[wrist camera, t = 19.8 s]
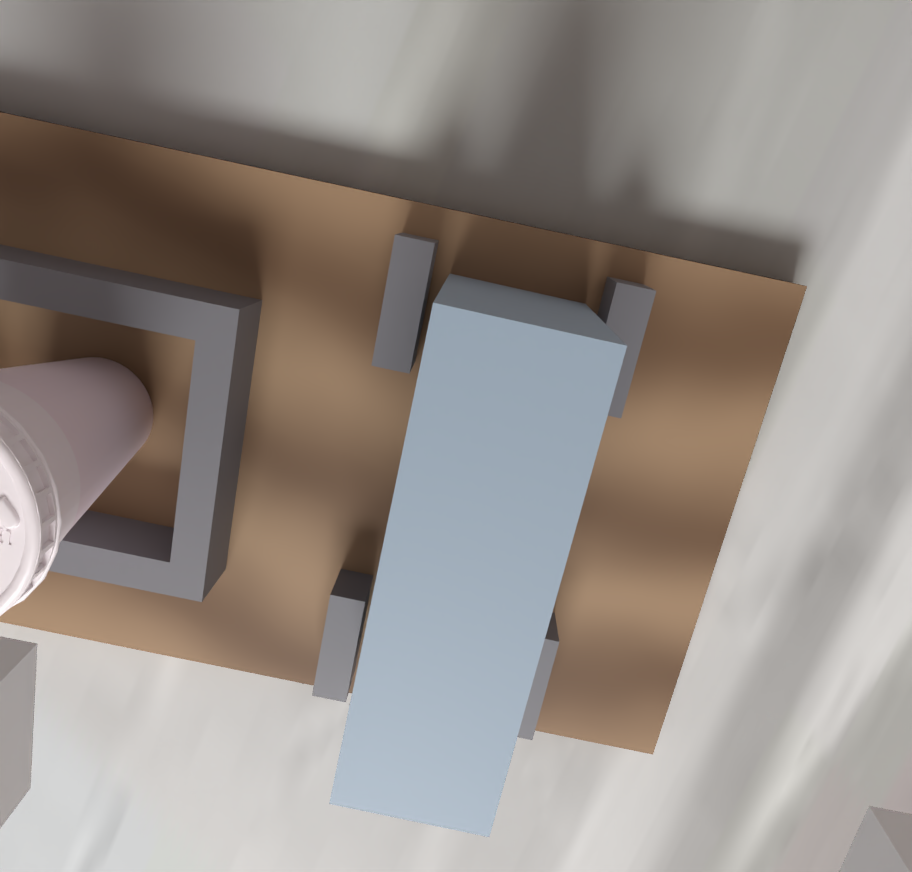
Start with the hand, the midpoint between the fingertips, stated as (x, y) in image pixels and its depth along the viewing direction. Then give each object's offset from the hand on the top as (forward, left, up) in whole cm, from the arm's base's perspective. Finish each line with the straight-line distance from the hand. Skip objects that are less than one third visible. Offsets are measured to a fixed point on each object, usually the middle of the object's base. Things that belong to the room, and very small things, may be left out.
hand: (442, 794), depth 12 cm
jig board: (0, -5, -17) cm, 17 cm away
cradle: (0, -13, -16) cm, 20 cm away
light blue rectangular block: (0, 0, -16) cm, 16 cm away
